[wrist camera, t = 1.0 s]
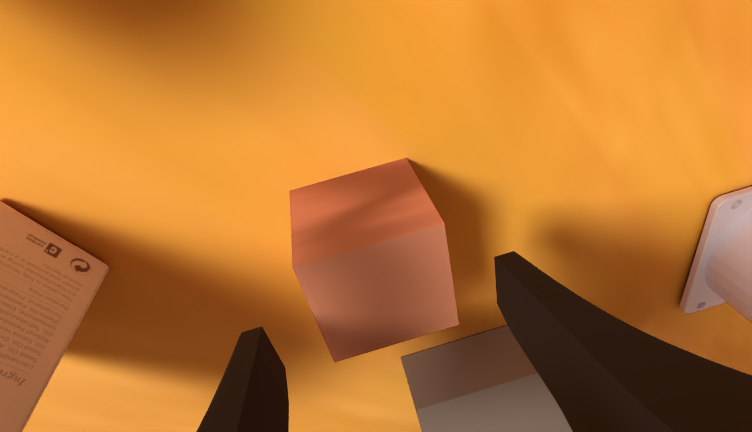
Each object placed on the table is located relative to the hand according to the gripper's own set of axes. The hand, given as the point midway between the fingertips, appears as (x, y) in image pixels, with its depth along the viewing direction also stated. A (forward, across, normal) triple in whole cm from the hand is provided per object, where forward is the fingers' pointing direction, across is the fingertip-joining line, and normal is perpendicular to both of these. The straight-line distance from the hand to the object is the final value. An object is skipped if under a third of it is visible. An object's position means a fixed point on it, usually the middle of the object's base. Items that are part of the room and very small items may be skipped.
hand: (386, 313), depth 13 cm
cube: (+5, 0, 0) cm, 5 cm away
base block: (+5, -5, +14) cm, 16 cm away
